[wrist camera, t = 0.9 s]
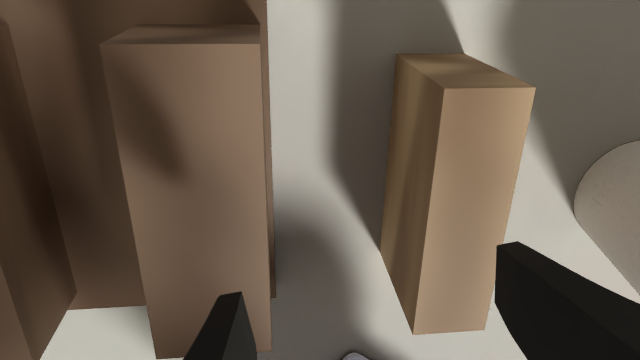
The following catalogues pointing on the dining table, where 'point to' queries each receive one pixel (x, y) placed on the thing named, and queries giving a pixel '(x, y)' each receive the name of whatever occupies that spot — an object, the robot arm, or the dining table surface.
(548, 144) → the dining table surface
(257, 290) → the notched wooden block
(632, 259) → the dixie cup
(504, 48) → the dining table surface
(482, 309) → the tall tan pillar
